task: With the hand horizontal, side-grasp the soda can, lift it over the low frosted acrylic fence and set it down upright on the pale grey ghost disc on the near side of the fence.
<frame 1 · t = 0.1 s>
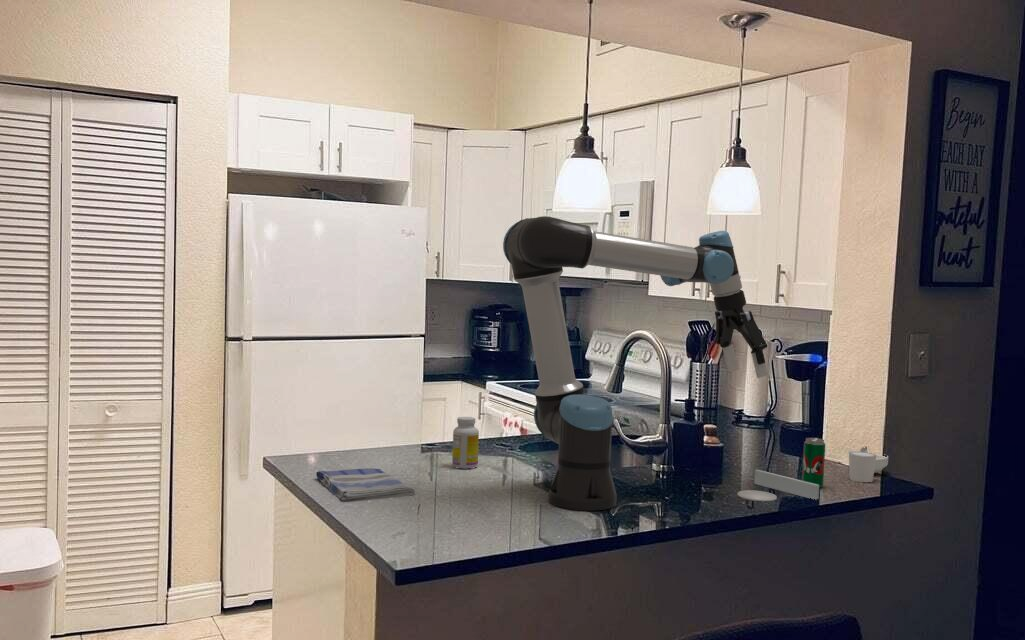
hand: (747, 373, 222), 28 cm above the countertop, tool tilted 20°, fingers open, 13 cm apart
ghost disc: (757, 496, 208), on the countertop
acrylic fence: (785, 491, 214), on the countertop
dish towel: (363, 489, 204), on the countertop
cell model: (867, 472, 241), on the countertop
soda can: (812, 487, 221), on the countertop
supplement bottle: (464, 467, 228), on the countertop
white cup: (861, 480, 230), on the countertop
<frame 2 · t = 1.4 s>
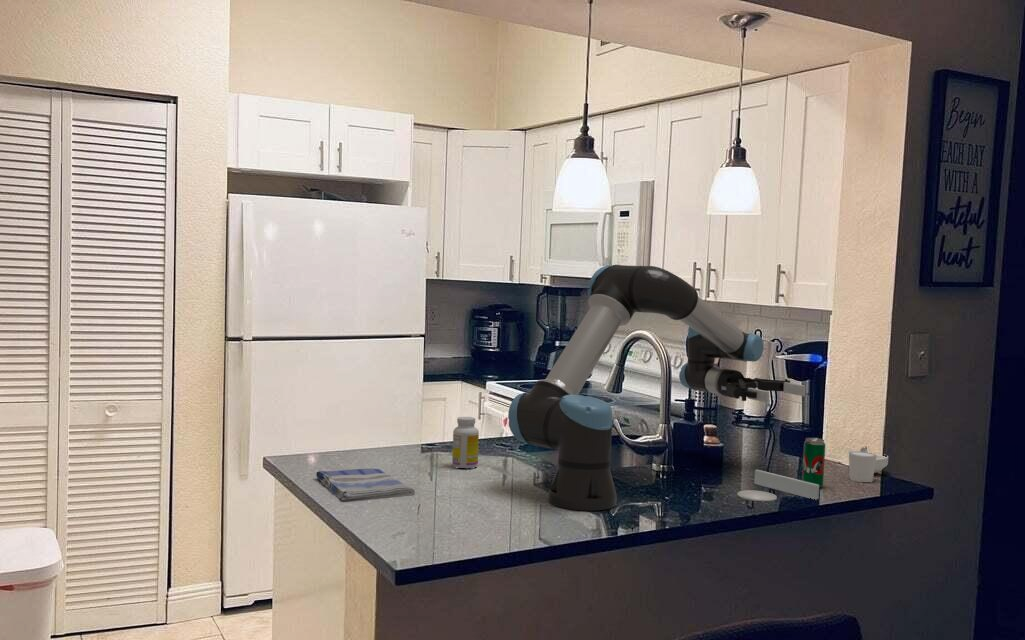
hand: (786, 393, 225), 22 cm above the countertop, tool horizontal, fingers open, 13 cm apart
nothing on the countertop moved.
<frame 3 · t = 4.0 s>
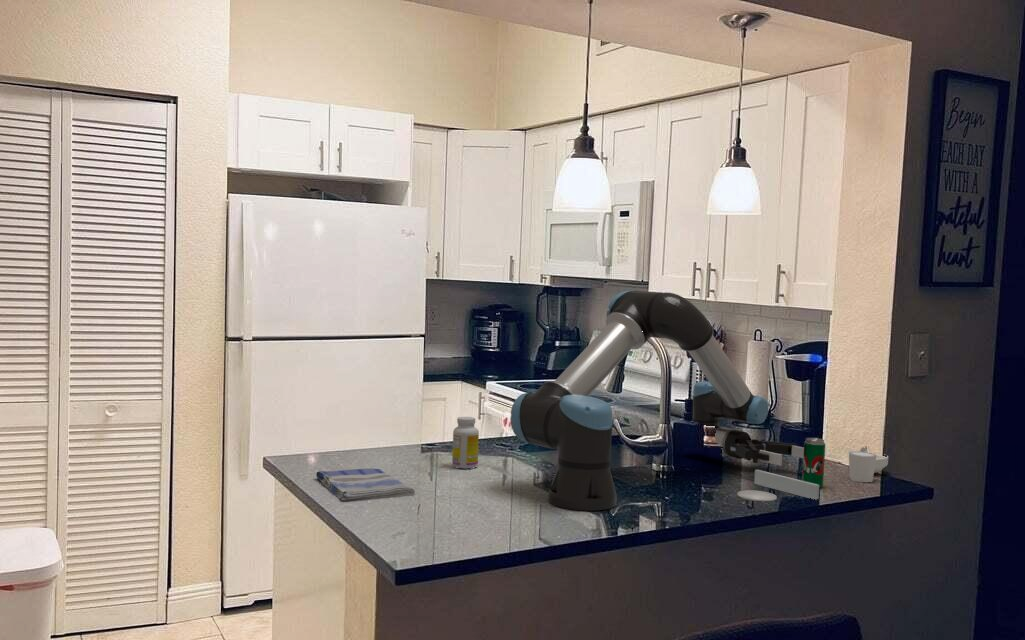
hand: (797, 457, 225), 6 cm above the countertop, tool horizontal, fingers open, 13 cm apart
nothing on the countertop moved.
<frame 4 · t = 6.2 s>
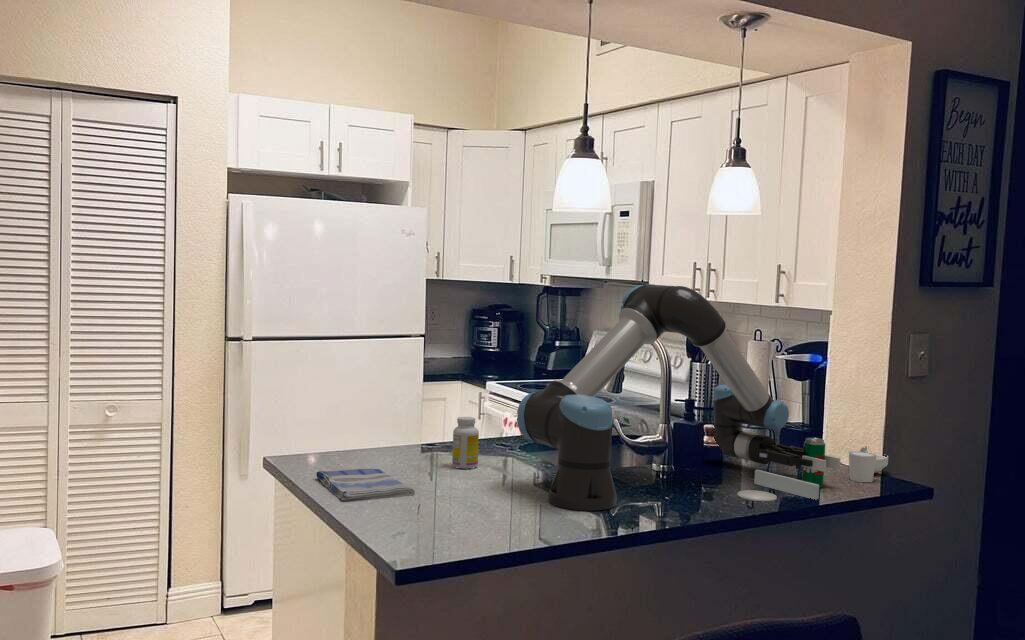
hand: (832, 464, 216), 7 cm above the countertop, tool horizontal, fingers closed on soda can, 5 cm apart
soda can: (812, 487, 221), on the countertop, touching gripper
everything else where it was.
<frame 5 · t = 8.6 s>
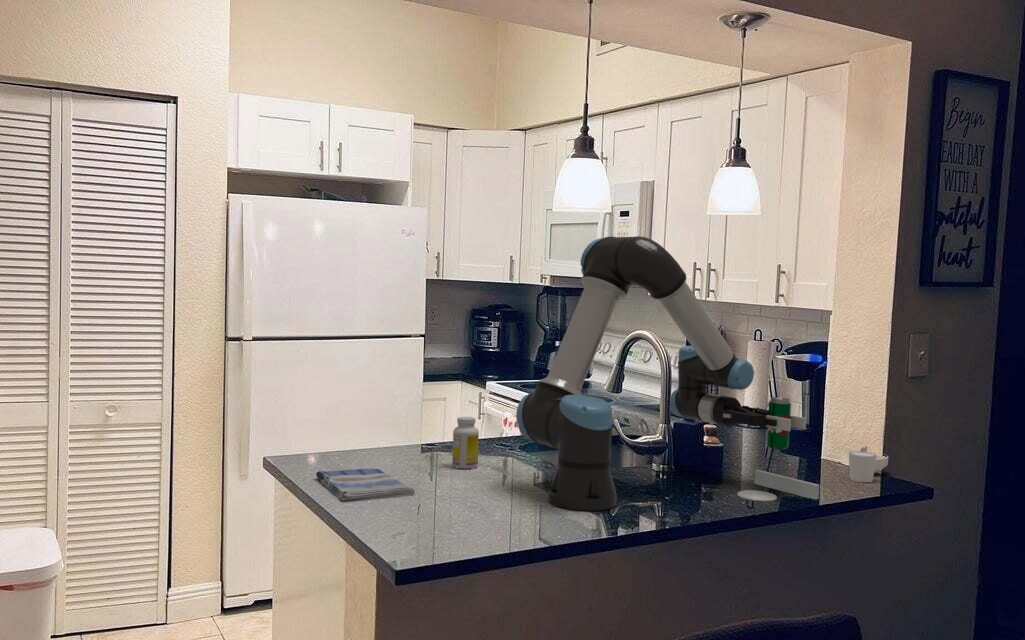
hand: (797, 424, 207), 18 cm above the countertop, tool horizontal, fingers closed on soda can, 5 cm apart
soda can: (777, 448, 211), point 11 cm above the countertop, touching gripper
everything else where it was.
when the fingers open (8 cm above the countertop, at t = 11.1 s): soda can drops 2 cm, resting on ghost disc.
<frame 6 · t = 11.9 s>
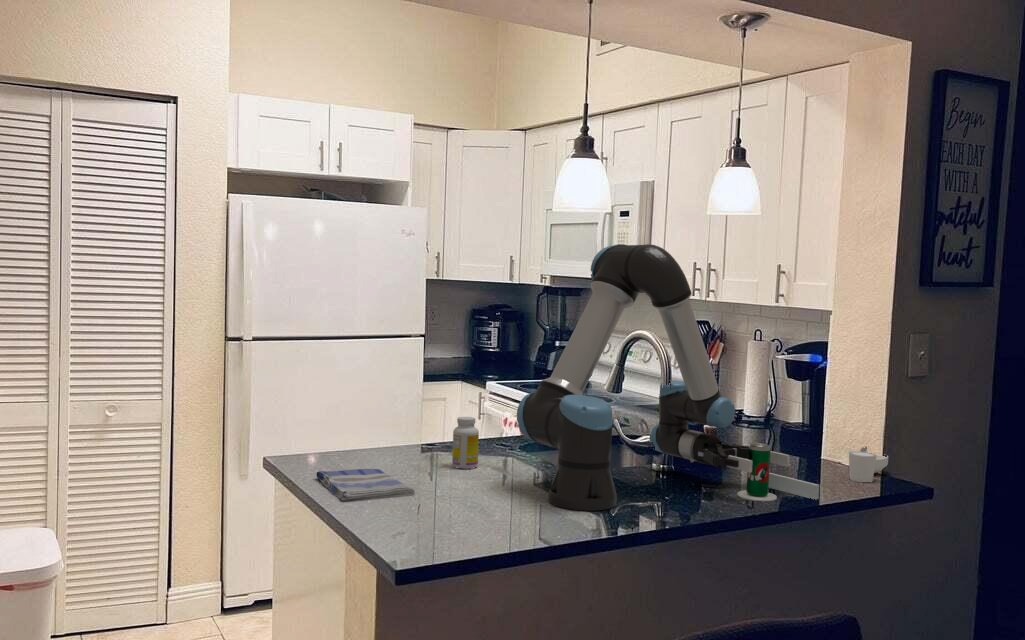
hand: (770, 463, 205), 9 cm above the countertop, tool horizontal, fingers open, 13 cm apart
soda can: (757, 495, 208), resting on ghost disc
everything else where it was.
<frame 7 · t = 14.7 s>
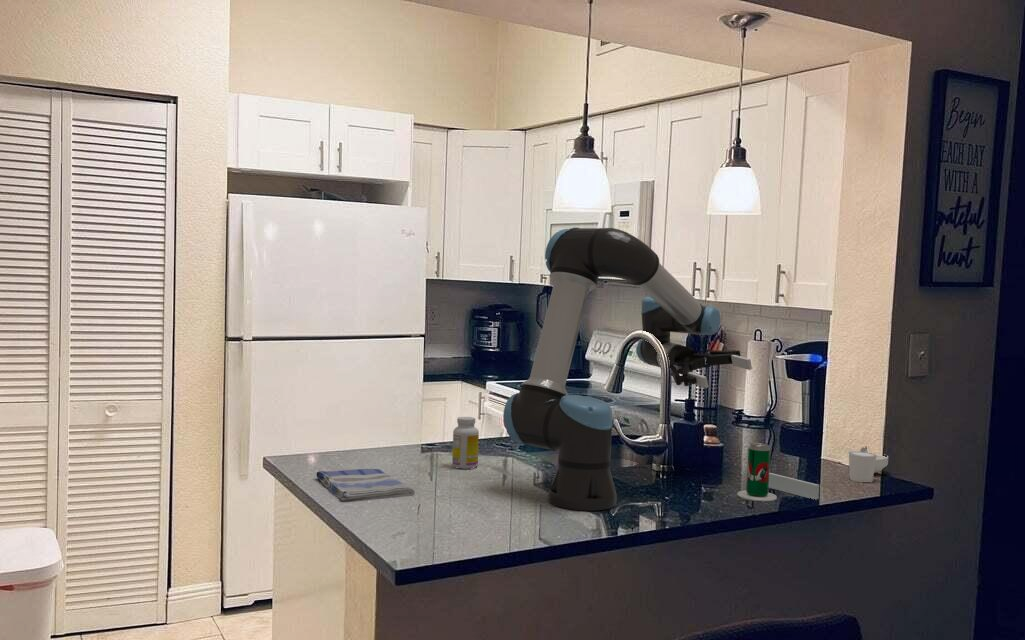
hand: (728, 373, 215), 28 cm above the countertop, tool horizontal, fingers open, 13 cm apart
nothing on the countertop moved.
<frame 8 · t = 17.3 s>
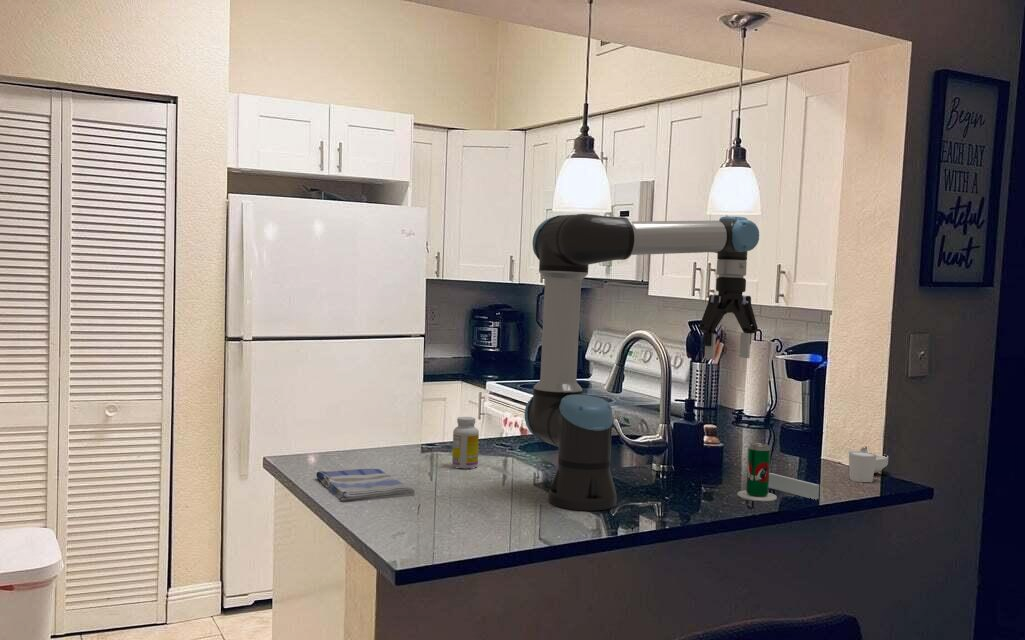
hand: (727, 358, 228), 31 cm above the countertop, tool pointing down, fingers open, 13 cm apart
nothing on the countertop moved.
at the end: soda can 0.0 cm from the ghost disc (horizontally); soda can tilted 0°; the gripper is holding nothing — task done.
